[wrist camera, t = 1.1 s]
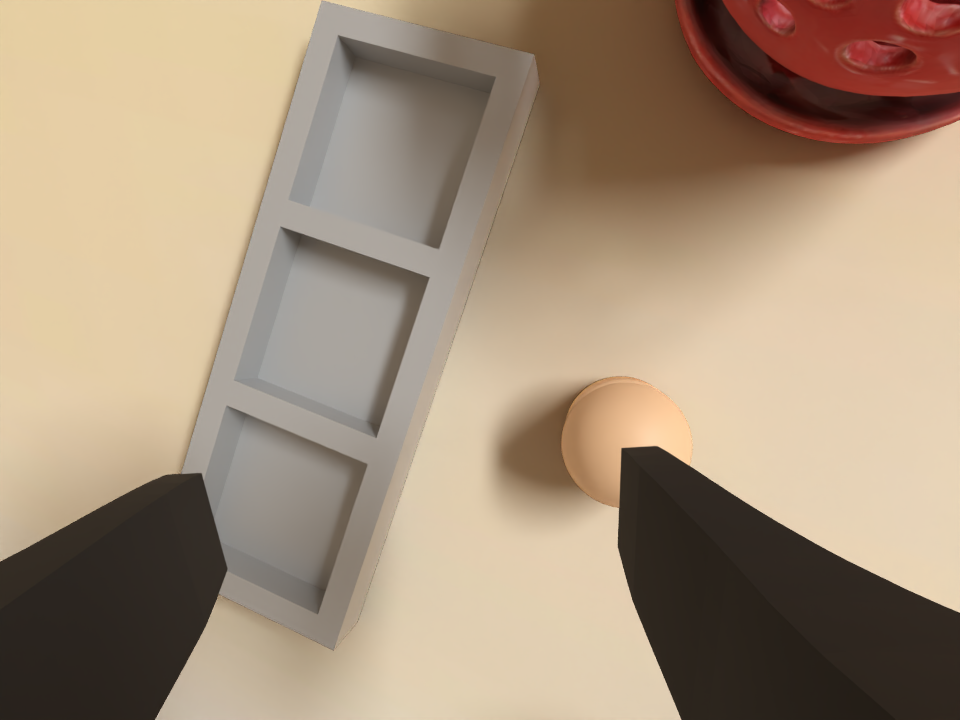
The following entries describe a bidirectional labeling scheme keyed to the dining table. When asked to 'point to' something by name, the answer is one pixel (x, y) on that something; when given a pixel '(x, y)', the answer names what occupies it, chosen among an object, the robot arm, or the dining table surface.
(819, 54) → the plant pot
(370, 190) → the grey compartment tray
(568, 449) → the egg
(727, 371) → the dining table surface
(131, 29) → the dining table surface
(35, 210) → the dining table surface
